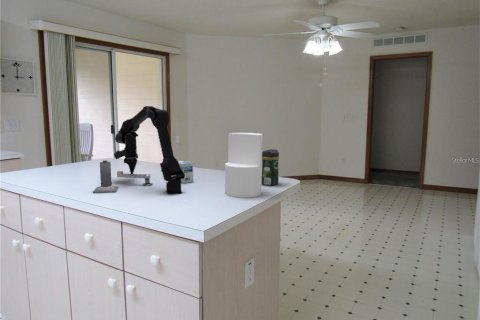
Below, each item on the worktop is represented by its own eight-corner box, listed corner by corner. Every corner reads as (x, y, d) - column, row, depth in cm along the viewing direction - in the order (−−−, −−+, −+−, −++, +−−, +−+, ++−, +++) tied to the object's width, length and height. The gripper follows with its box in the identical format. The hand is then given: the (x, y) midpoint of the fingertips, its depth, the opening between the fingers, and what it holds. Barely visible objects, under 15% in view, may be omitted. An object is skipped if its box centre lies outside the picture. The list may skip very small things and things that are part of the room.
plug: (114, 187, 168) (113, 160, 166) (109, 189, 163) (107, 161, 161) (103, 186, 169) (102, 159, 167) (97, 189, 163) (96, 161, 161)
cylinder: (237, 187, 176) (237, 132, 172) (267, 191, 168) (268, 133, 163) (217, 194, 162) (217, 134, 157) (250, 199, 153) (251, 136, 149)
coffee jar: (267, 181, 190) (268, 148, 187) (280, 183, 186) (281, 149, 183) (258, 184, 182) (259, 149, 179) (272, 186, 178) (273, 151, 175)
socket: (118, 187, 172) (118, 185, 172) (115, 192, 162) (115, 190, 162) (97, 188, 170) (97, 186, 170) (93, 193, 160) (92, 191, 160)
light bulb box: (193, 182, 187) (193, 162, 185) (183, 183, 182) (183, 163, 180) (181, 179, 194) (181, 160, 192) (171, 180, 189) (171, 161, 188)
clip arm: (151, 177, 179) (151, 172, 178) (148, 178, 176) (148, 173, 175) (119, 176, 181) (119, 170, 181) (116, 177, 178) (116, 171, 178)
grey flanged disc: (150, 183, 182) (149, 177, 181) (154, 185, 178) (153, 178, 177) (140, 184, 179) (140, 178, 178) (144, 186, 175) (144, 179, 174)
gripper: (116, 143, 189) (117, 171, 191) (112, 147, 171) (114, 178, 174) (137, 142, 192) (138, 170, 194) (136, 146, 174) (137, 177, 176)
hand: (131, 173), depth 184 cm, fingers closed
